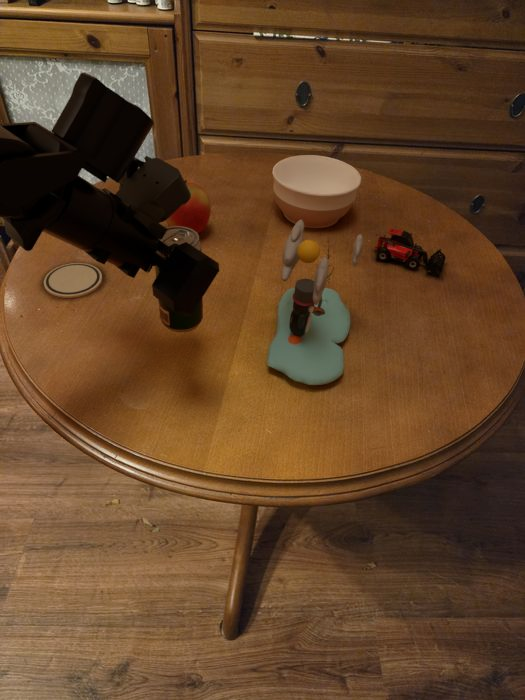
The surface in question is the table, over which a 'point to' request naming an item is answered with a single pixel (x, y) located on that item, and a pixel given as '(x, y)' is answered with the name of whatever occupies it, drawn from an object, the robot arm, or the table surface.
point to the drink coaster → (73, 280)
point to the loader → (408, 252)
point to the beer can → (172, 236)
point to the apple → (193, 210)
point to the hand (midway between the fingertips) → (188, 273)
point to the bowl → (314, 189)
